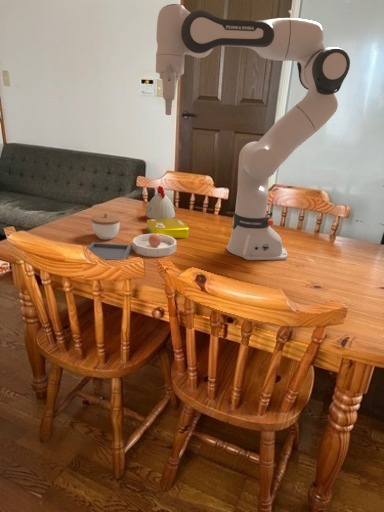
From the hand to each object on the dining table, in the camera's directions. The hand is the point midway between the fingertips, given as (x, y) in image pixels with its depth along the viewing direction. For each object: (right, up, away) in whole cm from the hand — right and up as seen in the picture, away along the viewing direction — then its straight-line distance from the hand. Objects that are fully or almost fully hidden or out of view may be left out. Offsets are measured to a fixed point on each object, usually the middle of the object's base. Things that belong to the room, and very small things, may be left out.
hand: (168, 114), depth 114 cm
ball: (-6, -41, +13) cm, 43 cm away
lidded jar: (-26, -39, +22) cm, 52 cm away
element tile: (-3, -37, +32) cm, 49 cm away
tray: (-21, -46, +5) cm, 51 cm away
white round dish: (-6, -43, +14) cm, 46 cm away
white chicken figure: (-7, -29, +50) cm, 58 cm away
